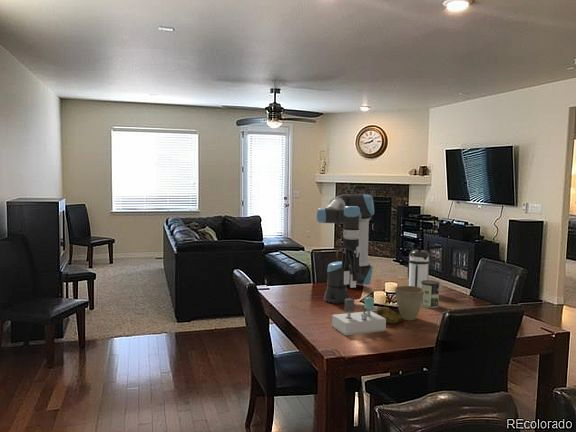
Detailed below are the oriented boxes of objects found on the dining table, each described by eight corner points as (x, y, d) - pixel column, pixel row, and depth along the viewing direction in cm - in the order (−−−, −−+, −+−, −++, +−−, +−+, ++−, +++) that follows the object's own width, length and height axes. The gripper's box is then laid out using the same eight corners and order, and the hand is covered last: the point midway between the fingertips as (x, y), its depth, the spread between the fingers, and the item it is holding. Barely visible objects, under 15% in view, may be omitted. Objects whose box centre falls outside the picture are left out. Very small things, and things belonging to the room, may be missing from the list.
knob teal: (362, 316, 239) (363, 297, 238) (370, 316, 241) (370, 296, 240) (367, 319, 235) (367, 299, 234) (374, 318, 237) (375, 298, 236)
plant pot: (388, 316, 259) (389, 286, 257) (411, 313, 265) (412, 284, 263) (405, 324, 245) (406, 293, 244) (429, 321, 251) (430, 291, 250)
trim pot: (360, 319, 232) (360, 311, 232) (365, 318, 233) (365, 311, 232) (363, 320, 229) (363, 313, 229) (367, 320, 230) (368, 312, 230)
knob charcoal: (342, 318, 235) (343, 298, 234) (350, 318, 237) (351, 298, 236) (346, 321, 231) (347, 301, 230) (355, 320, 233) (355, 300, 232)
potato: (401, 326, 242) (402, 310, 241) (375, 323, 245) (376, 308, 244) (402, 321, 250) (402, 306, 249) (376, 319, 253) (377, 304, 252)
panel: (332, 326, 239) (332, 314, 238) (370, 322, 247) (371, 311, 246) (345, 335, 226) (345, 323, 225) (385, 330, 234) (386, 318, 233)
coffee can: (437, 304, 285) (438, 280, 284) (439, 308, 275) (440, 284, 274) (419, 302, 287) (420, 279, 286) (420, 307, 277) (421, 283, 276)
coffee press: (433, 290, 318) (434, 246, 316) (425, 295, 305) (427, 248, 302) (407, 287, 327) (409, 243, 325) (399, 291, 314) (401, 246, 311)
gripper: (335, 236, 238) (334, 282, 240) (353, 241, 220) (352, 290, 222) (348, 235, 241) (347, 281, 243) (368, 240, 223) (366, 289, 225)
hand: (349, 285), depth 232 cm, fingers open, 6 cm apart
